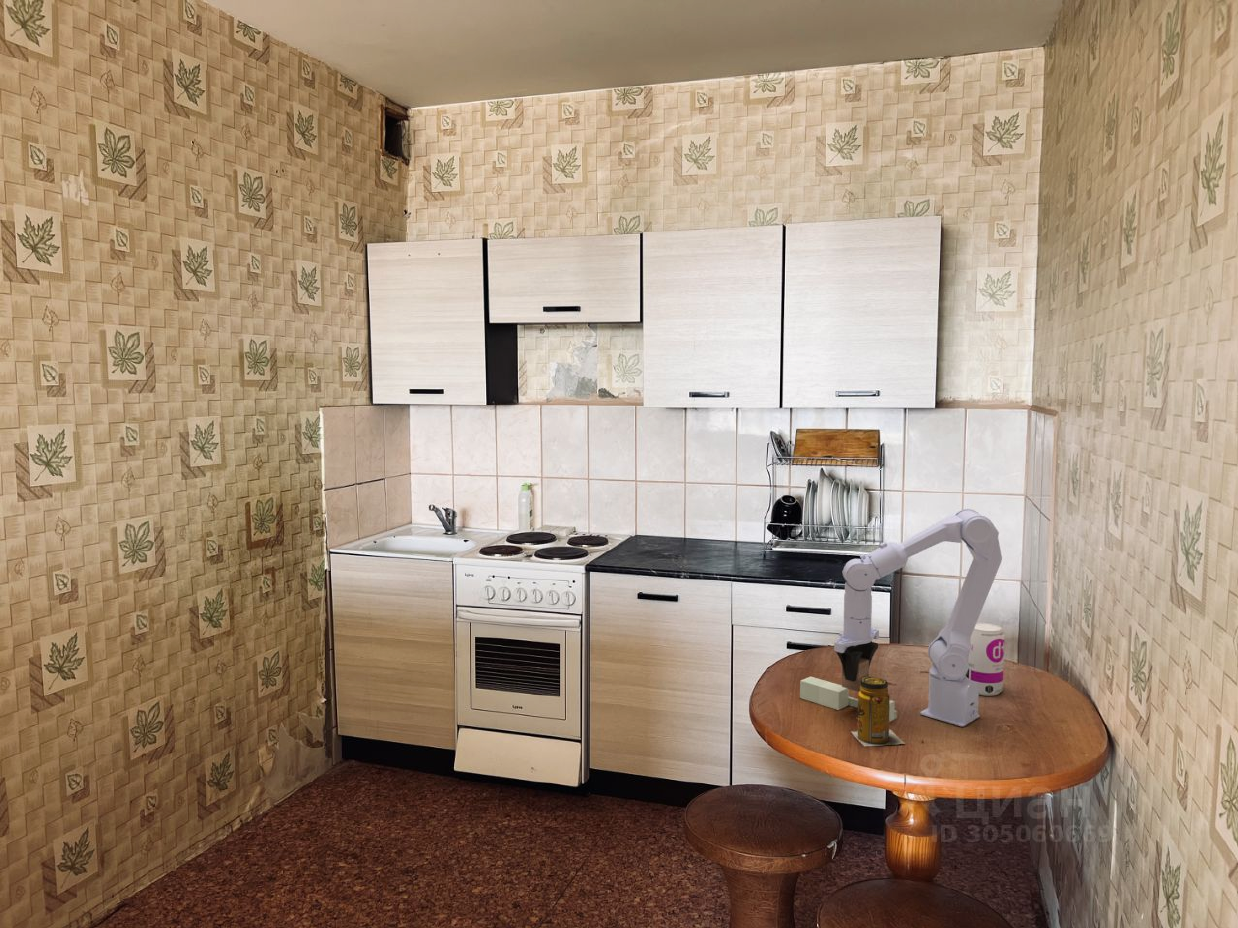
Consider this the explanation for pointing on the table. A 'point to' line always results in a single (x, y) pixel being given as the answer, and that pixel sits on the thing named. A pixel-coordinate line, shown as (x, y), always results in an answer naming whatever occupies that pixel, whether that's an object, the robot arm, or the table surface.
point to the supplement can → (987, 658)
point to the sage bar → (832, 695)
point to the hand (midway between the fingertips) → (856, 677)
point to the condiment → (874, 714)
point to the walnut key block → (861, 673)
